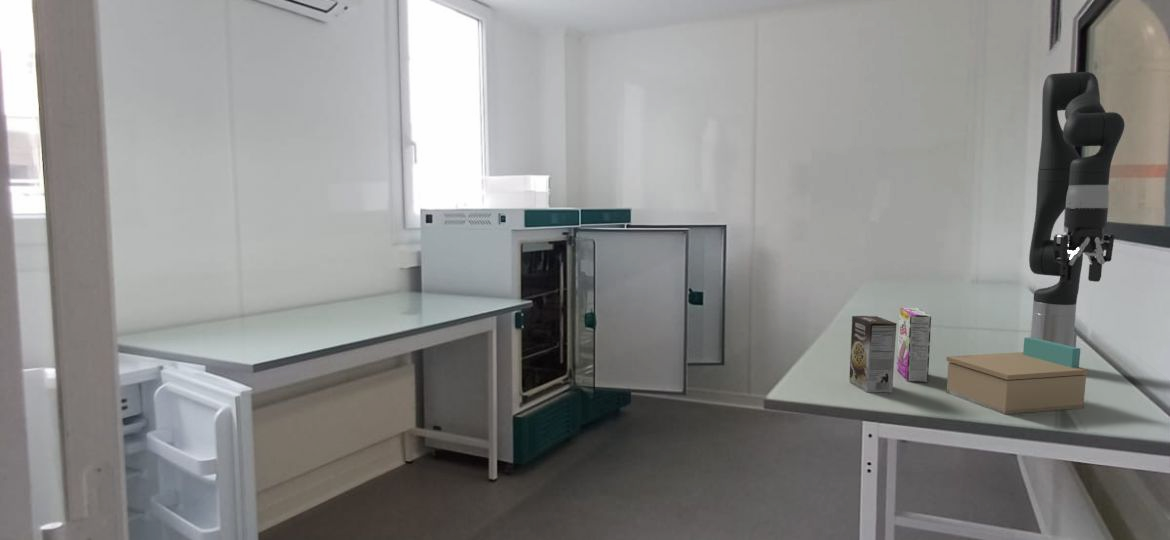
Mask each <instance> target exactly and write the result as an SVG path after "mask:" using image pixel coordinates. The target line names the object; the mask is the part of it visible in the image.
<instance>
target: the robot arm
mask: <svg viewBox="0 0 1170 540" xmlns="http://www.w3.org/2000/svg"><path fill="white" fill-rule="evenodd" d="M1100 96H1101V95H1100V87H1099V81H1098V78H1097V77H1096V75H1095V74H1094V73H1093V72H1088V71H1079V72H1076V71H1075V72H1062V73H1061V72H1059V73H1051V74H1048V75H1047V76H1046V77H1045V80H1044V83H1043V88H1042V96H1041V97H1042V100H1041V103H1042V104H1041V107H1042V109H1041V113H1042V115H1041V119H1042V120H1041V143H1040V153H1039V162H1038V171H1037V183H1036V206H1035V217H1034V224H1033V230H1032V235H1031V243H1030V247H1029V254H1028V257H1029V258H1028V262H1029V269H1030V271H1031V273H1033V274H1035V275H1042V276H1052V277H1059V280H1058V282H1057V283H1056V284H1054V285H1050V286H1048V287H1043V288H1039V289H1036V290H1035V291H1034V293H1033V303H1032V317H1031V327H1030V329H1031V331H1030V337H1033V338H1037V339H1041V340H1046V341H1050V342H1054V343H1058V344H1063V345H1067V346H1071V347H1076V348H1077V338H1078V337H1077V336H1078V335H1077V334H1078V333H1077V331H1076V332H1075V326H1076V325H1075V323H1076V313H1077V301H1078V300H1077V299H1078V294H1079V290H1080V289H1079V288H1080V280H1081V273H1082V267H1083V260H1084V255H1085V256H1086V257H1087V258H1088V260H1089V262H1090V263H1089V265H1088V266H1089V267H1088V276H1087V280H1088V281H1089V282H1096V283H1097V282H1100V281H1101V278H1102V270H1103V265H1104V264H1105V263H1107V262H1111V260H1112V256H1113V250H1114V244H1115V243H1114V242H1115V235H1114V234H1111V233H1109V234H1107V233H1103V231H1102V229H1105V228H1107V225H1108V224H1107V223H1108V213H1109V200H1110V190H1109V186H1110V173H1111V165H1112V160H1113V159H1114V158H1113V157H1114V154H1115V151H1116V149H1117V148H1118V145H1119V142H1120V140H1121V138H1122V136H1123V133H1124V130H1125V121H1124V118H1123V116H1122V115H1121V114H1119V112H1118V113H1117V112H1115V111H1114V112H1113V111H1112V112H1111V111H1109V112H1106V110H1105V108H1104V107H1103V105H1102V104H1101V97H1100ZM1058 111H1059V112H1060V111H1064V118H1065V123H1064V126H1063V129H1062V126H1061V124H1060V120H1059V113H1058ZM1075 147H1100V148H1099V149H1098V151H1097V152H1096V153H1095V154H1093V155H1089V156H1085V157H1083V156H1082V157H1081V156H1080V155H1079V153H1078V151H1077V150H1076V148H1075ZM1063 212H1064V221H1063V222H1064V223H1063V226H1064V227H1065V228H1066V229H1067V231H1066V233H1065V234H1054V236H1053V239H1051V238H1052V233H1053V229H1054V227H1055V224H1056V222H1057V220H1059V218H1060V215H1062V214H1063ZM1104 251H1105V253H1104ZM1104 254H1105V255H1104Z"/></svg>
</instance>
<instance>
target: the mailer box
mask: <svg viewBox="0 0 1170 540" xmlns="http://www.w3.org/2000/svg"><path fill="white" fill-rule="evenodd" d="M947 362H948V361H947ZM1086 382H1087V375H1072V376H1058V377H1044V378H1029V379H1015V380H1006V379H1003V378H999V377H996V376H993V375H990V374H987V373H983V372H980V371H977V370H974V369H971V368H967V367H964V366H961V365H958V364H955V363H952V362H948V365H947V381H946V394H949V395H952V396H955V397H957V398H959V399H963V400H965V401H968V402H971V403H973V404H975V405H978V406H982V407H984V408H986V409H989V410H991V411H992V410H993V411H994V412H997V413H1000V414H1003V415H1013V414H1027V413H1037V412H1038V413H1039V412H1048V411H1050V412H1051V411H1063V410H1073V409H1074V410H1075V409H1083V408H1084V404H1085V396H1086V395H1085V392H1086Z"/></svg>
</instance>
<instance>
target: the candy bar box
mask: <svg viewBox="0 0 1170 540" xmlns="http://www.w3.org/2000/svg"><path fill="white" fill-rule="evenodd" d="M931 325H932V315H930V314H929V313H927V312H925V311H923V309H921V308H918V307H899V309H898V328H897V329H898V333H897V335H898V336H897V337H898V339H897V355H896V360H897V361H896V371H897V372H898V373H899V374H900V375H901V376H902V377H903V378H904V379H905V380H906V381H907V382H910V383H912V382H913V383H928V382H929V371H930V370H929V368H930V350H931V349H930V347H931V331H932V330H931Z"/></svg>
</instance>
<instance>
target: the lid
mask: <svg viewBox="0 0 1170 540" xmlns="http://www.w3.org/2000/svg"><path fill="white" fill-rule="evenodd" d="M1023 339H1024V340H1023V352H1020V351H1019V352H1002V353H985V354H971V355H970V354H967V355H953V356H952V355H951V356H946V362H952V363H955V364H958V365H961V366H964V367H967V368H971V369H974V370H977V371H980V372H983V373H987V374H990V375H993V376H996V377H999V378H1003V379H1006V380H1015V379H1029V378H1044V377H1058V376H1072V375H1086V376H1087V375H1089V374H1090V369H1088V368H1084V367H1080V360H1081V359H1080V358H1081V357H1080V356H1081V348H1079V347H1077V346H1076V347H1071V346H1067V345H1063V344H1058V343H1054V342H1050V341H1046V340H1041V339H1037V338H1033V337H1031V336H1029V337H1024V338H1023Z"/></svg>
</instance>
